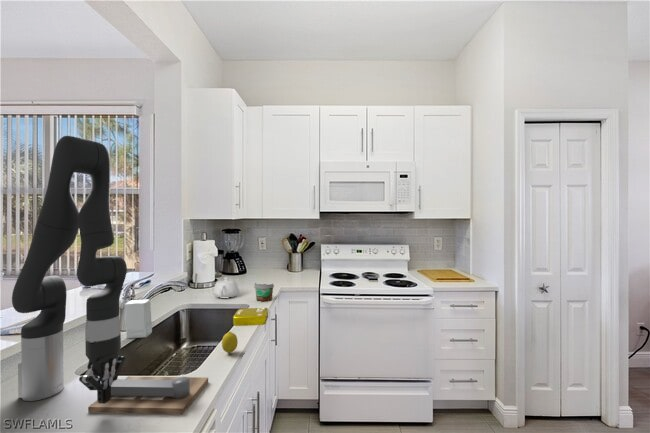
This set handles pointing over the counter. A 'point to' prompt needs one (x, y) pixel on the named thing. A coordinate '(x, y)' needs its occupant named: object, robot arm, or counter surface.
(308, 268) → the counter surface
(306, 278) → the counter surface
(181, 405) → the label board
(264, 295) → the food container
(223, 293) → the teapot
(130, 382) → the swing arm
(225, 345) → the lemon
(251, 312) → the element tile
